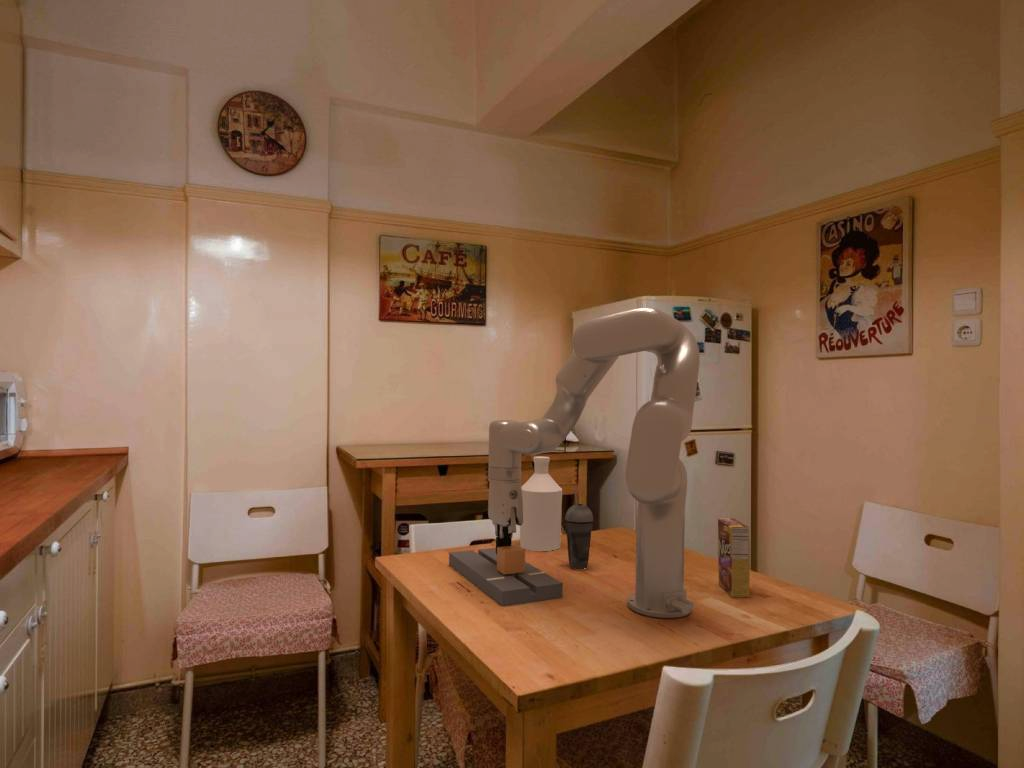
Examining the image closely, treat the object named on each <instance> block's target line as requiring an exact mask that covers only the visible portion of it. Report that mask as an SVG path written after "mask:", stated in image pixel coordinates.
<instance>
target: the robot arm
mask: <svg viewBox="0 0 1024 768" xmlns="http://www.w3.org/2000/svg"><path fill="white" fill-rule="evenodd" d="M571 348H572V350H573V352H572V353H571V355H570V356H569V357H568V359H567V360H566V362H565V363H564V364H563V366H562V367H561V368H560V370H559V371H558V373H557V374H556V375H555V379H554V380H555V385H556V394H555V396H554V399H553V400H552V401H553V402H552V403H551V405H550V406H549V408H548V410H546V412H545V413H544V415H543V416H542V417H541V418H540V419H535V420H528V421H521V422H519V421H517V420H512V419H511V420H510V419H509V420H508V419H505V420H504V419H503V420H502V419H498V420H493V421H491V422H490V424H489V428H488V469H487V471H488V473H487V475H488V478H487V480H488V482H489V488H488V500H487V501H488V502H487V503H488V505H487V514H488V518H489V520H490V521H491V522H492V524H493V526H494V531H495V548H496V554H497V547H504V546H512V540H513V539H512V538H513V533H514V534H516V533H517V526H519V527H520V526H521V525H522V524H523V497H522V488H521V487H522V483H521V481H522V455H526V456H535V455H541V454H544V453H548V452H552V451H555V450H556V449H557V448H559V447H560V445H562V443H563V442H564V441H565V439H566V438H567V437H568V435H569V434H570V433H571V431H572V430H573V428H574V427H575V426H576V424H577V423H578V421H579V419H580V417H581V415H582V413H583V411H584V409H585V407H586V404H587V401H588V399H589V397H590V396H591V395H592V393H593V392H594V391H595V390H596V388H597V387H598V385H599V384H600V383H601V381H602V380H603V378H604V377H605V376H606V375H607V373H608V372H609V370H610V369H611V368H612V367H613V365H614V364H615V363H616V361H617V360H618V359H619V357H621V356H625V355H630V354H634V353H640V352H641V353H642V352H647V353H652V354H654V355H656V359H657V365H656V369H655V371H654V377H653V385H652V391H651V395H650V396H651V397H650V400H648V401H647V402H646V403H644V404H642V405H641V406H640V408H639V409H638V411H637V412H636V414H635V417H634V419H633V423H632V428H631V434H630V440H629V446H628V453H627V461H626V464H625V465H626V467H625V475H624V476H625V477H624V478H625V485H626V488H627V491H628V493H629V495H631V497H632V498H633V499H634V500H635V501H637V506H636V524H635V525H636V528H635V529H636V530H635V593H633V594H630V596H629V597H627V606H628V607H629V608H630V610H632V611H633V612H635V613H637V614H640V615H643V616H648V617H652V618H660V619H675V618H681V617H685V616H688V615H689V614H691V612H692V610H693V609H694V608H695V603H694V601H692V600H690V599H688V596H687V595H688V591H687V589H684V588H685V587H684V586H685V582H684V581H685V575H684V574H685V531H686V530H685V529H686V527H685V526H686V523H685V522H686V521H685V520H686V502H687V491H688V472H687V469H686V466H685V464H684V462H683V461H682V459H681V458H680V453H681V447H682V443H683V442H684V441H686V440H687V438H688V437H689V435H690V434H691V431H692V427H693V417H694V409H695V402H696V396H697V385H698V378H699V371H700V361H701V360H700V358H701V357H700V348H699V345H698V341H697V339H696V338H695V335H694V334H693V332H692V331H691V330H690V328H688V327H687V326H686V325H684V324H683V323H682V322H681V321H680V320H678V319H676V318H675V317H673V316H672V315H670V314H669V313H667V312H665V311H662V310H661V309H658V308H654V307H651V306H643V307H637V308H632V309H629V310H624V311H619V312H617V313H612V314H608V315H604V316H603V315H602V316H600V317H599V316H598V317H595V318H592V319H588V320H586V321H583V322H581V324H579V325H578V326H577V327H576V328H575V329H574V331H573V334H572V337H571Z"/></svg>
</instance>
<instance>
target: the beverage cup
mask: <svg viewBox="0 0 1024 768" xmlns="http://www.w3.org/2000/svg"><path fill="white" fill-rule="evenodd" d="M573 491H574V500H575V501H574V502H575V503H574V504H573V505H571V506H570V507H569V508H568V509H567V511H566V513H565V517H564V525H565V530H566V540H567V541H566V542H567V554H568V555H567V556H568V563H569V565H568V567H569V566H570V567H571V568H570V567H569V568H570V569H572V568H576V569H575V570H577V569H583V570H585V569H584V568H587V567H588V566H589V560H590V559H589V558H590V551H591V550H590V548H591V538H592V530H593V527H594V522H595V521H594V515H593V512H592V510H591V509H590V508H589V507H588V506H587V505H585V504H583V503H578V493H577V486H576V485H575V486H573ZM587 569H588V568H587Z"/></svg>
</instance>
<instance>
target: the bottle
mask: <svg viewBox="0 0 1024 768" xmlns="http://www.w3.org/2000/svg"><path fill="white" fill-rule="evenodd" d="M550 459H551V458H550V457H549V456H533V464H534V465H533V467H534V468H533V469H534V473H533V474H532V475H531V476H530V478H529V479H528V480H527V481H526V482H525V483H524V484H523V485H521V488H522V497H523V524H522V525H521V526H519V546H520V547H522V548H524V549H526V550H525V551H528V550H530V551H529V552H535V551H549V552H552V551H551V550H555V551H557V550H556V549H558V548H560V549H561V545H562V544H561V542H562V541H561V539H562V508H563V507H562V505H563V489H562V487H561V486H559V484H558V483H557V482H556V481H555V480H554V478H553V477H552V476H551V475H550V474H549V463H550ZM558 550H559V549H558Z"/></svg>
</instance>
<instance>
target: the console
mask: <svg viewBox="0 0 1024 768" xmlns="http://www.w3.org/2000/svg"><path fill="white" fill-rule="evenodd" d="M448 565H449V566H450V567H451V568H452V569H454V570H456V572H458V573H459V574H461V576H463V577H465V578H466V579H467V580H468V581H469V582H470V583H472V584H473V585H475V586H476V587H477V588H478V589H480V590H481V591H482V592H483V593H484V594H486V595H487V596H488V597H489V598H491V599H492V600H493V601H495V603H497V604H498V605H499V606H501V607H507V606H506V605H508V606H514V604H515V605H521V604H520V603H522V604H527V602H528V603H535V602H540V601H541V600H542V601H548V600H554V598H555V599H561V598H560V597H562V598H563V594H564V593H563V592H564V589H563V587H564V586H563V585H564V583H563V582H562V581H560V580H558V579H556V578H554V577H553V576H551V575H550V574H547V573H546V572H545V571H542V570H540V568H537V567H535V566H534V565H532V564H531V563H529V562H527V561H525V572H521V573H516V578H514V577H513V576H511V575H510V574H505V575H504V574H503V573H501V572H500V571H498V570H497V554H496V547H489V548H481V549H479V548H478V550H477V552H476V551H474V550H472V549H471V550H462V551H453V552H452V551H451V552H449V553H448ZM547 599H548V600H547ZM534 601H535V602H534ZM512 604H513V605H512Z"/></svg>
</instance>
